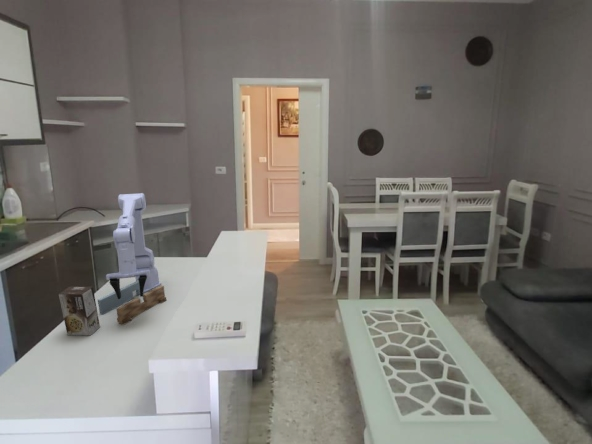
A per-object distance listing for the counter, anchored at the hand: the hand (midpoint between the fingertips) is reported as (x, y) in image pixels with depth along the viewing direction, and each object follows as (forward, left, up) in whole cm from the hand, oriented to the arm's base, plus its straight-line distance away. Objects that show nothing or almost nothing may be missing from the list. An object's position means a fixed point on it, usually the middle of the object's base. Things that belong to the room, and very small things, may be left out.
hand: (130, 297), depth 141 cm
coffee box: (+12, -12, -11) cm, 20 cm away
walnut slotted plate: (-8, -4, -11) cm, 14 cm away
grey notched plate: (-9, -17, -11) cm, 22 cm away
